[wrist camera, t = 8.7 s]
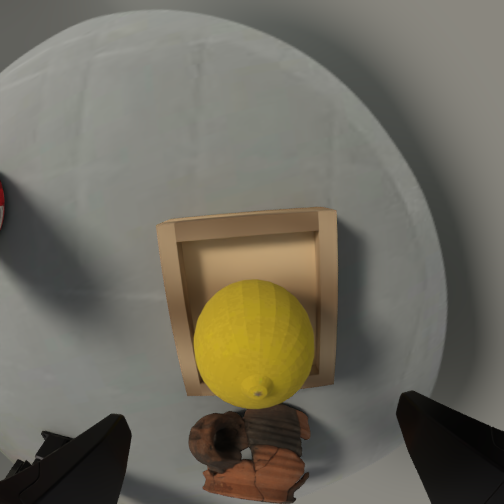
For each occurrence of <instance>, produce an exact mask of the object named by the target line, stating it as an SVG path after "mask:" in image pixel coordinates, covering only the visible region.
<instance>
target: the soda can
mask: <svg viewBox="0 0 504 504" xmlns="http://www.w3.org/2000/svg"><path fill="white" fill-rule="evenodd" d="M4 206H5V202H4V192H3V188H2V184H1V181H0V230H1V227H2V223H3V218H4Z"/></svg>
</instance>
